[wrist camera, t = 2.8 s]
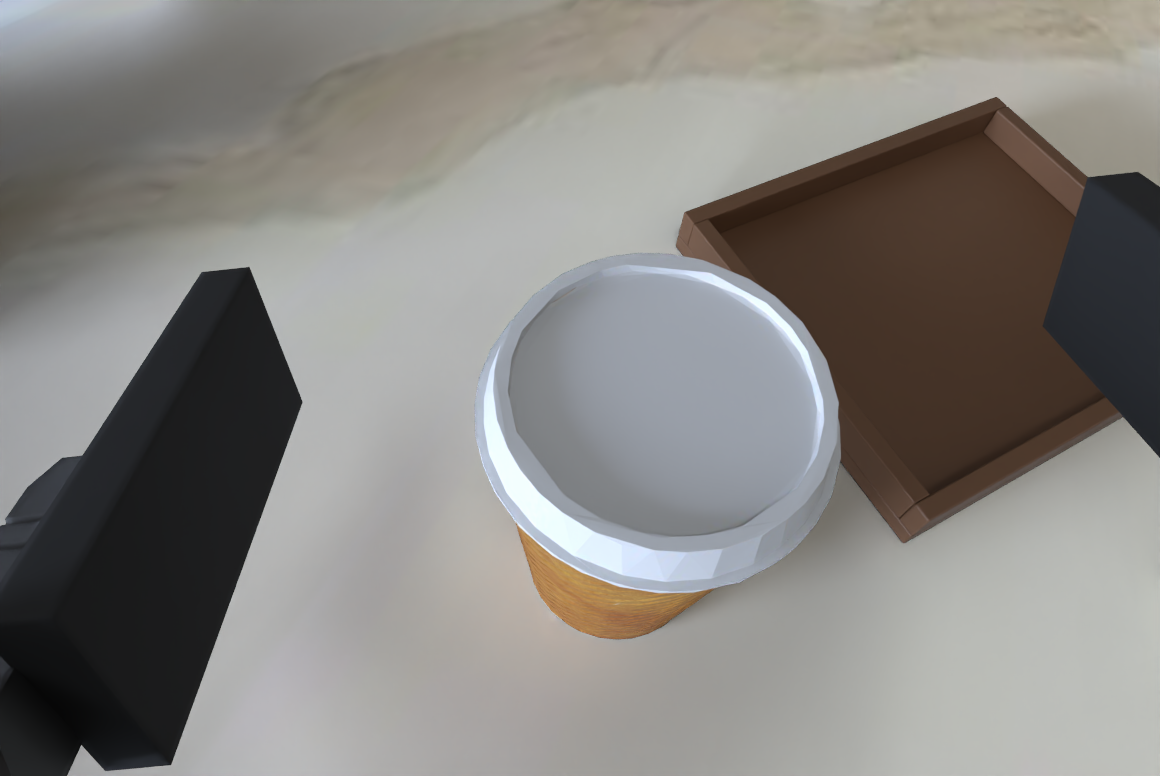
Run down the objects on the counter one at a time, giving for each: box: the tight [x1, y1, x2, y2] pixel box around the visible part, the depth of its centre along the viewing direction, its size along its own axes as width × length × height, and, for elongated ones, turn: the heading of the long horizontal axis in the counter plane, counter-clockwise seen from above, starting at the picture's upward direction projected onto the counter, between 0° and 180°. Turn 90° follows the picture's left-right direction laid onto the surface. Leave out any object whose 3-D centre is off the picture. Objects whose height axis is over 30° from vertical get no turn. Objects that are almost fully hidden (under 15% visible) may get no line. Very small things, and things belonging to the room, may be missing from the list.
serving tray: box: [676, 97, 1123, 543], centre depth 37 cm, size 17×20×2 cm
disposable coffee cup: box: [475, 253, 841, 639], centre depth 25 cm, size 10×10×12 cm
